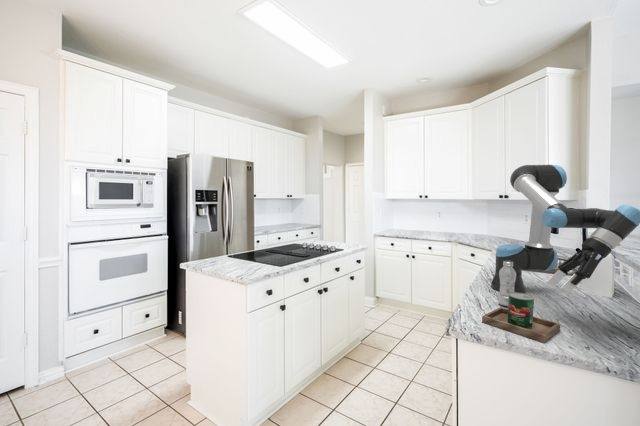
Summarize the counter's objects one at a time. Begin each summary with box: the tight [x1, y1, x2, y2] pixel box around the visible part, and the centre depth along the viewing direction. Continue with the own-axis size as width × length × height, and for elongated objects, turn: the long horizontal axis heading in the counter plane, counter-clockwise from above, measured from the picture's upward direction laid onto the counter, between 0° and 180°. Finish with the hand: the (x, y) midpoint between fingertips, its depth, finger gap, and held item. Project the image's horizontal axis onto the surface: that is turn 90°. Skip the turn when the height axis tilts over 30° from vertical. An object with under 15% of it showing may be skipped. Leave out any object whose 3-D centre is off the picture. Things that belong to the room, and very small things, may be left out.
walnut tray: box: [481, 307, 561, 344], centre depth 110 cm, size 20×16×2 cm
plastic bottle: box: [497, 261, 516, 308], centre depth 131 cm, size 6×7×20 cm
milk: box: [580, 252, 615, 298], centre depth 151 cm, size 12×12×26 cm
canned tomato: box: [507, 292, 535, 329], centre depth 110 cm, size 8×8×11 cm
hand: (556, 287), depth 109 cm, fingers open, 13 cm apart
